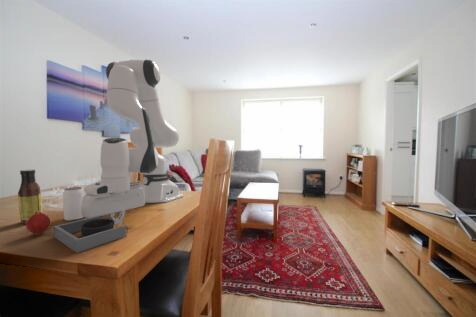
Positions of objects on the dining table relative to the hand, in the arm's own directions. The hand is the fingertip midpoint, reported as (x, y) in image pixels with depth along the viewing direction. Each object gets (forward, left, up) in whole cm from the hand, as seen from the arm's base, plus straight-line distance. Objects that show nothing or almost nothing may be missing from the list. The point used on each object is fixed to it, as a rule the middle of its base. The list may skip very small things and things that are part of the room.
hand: (116, 224), depth 77 cm
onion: (+17, -15, -2) cm, 23 cm away
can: (+4, -25, -2) cm, 26 cm away
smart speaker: (+6, 0, -2) cm, 6 cm away
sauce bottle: (+15, -33, -2) cm, 37 cm away
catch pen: (+8, 0, -2) cm, 8 cm away
